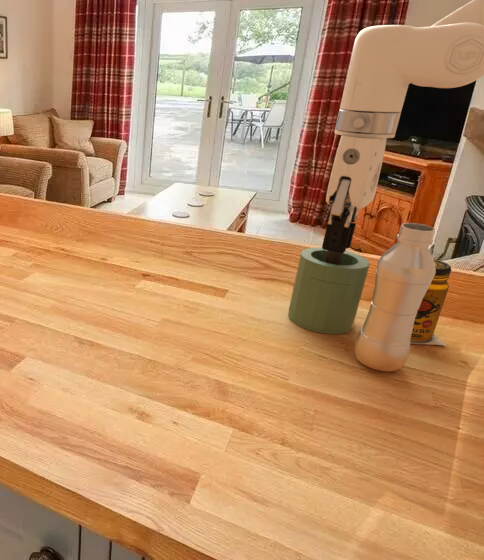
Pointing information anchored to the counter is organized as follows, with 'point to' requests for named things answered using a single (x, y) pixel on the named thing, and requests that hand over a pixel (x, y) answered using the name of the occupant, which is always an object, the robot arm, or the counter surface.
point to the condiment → (431, 307)
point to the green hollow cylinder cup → (327, 291)
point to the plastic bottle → (396, 299)
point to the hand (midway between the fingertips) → (335, 247)
